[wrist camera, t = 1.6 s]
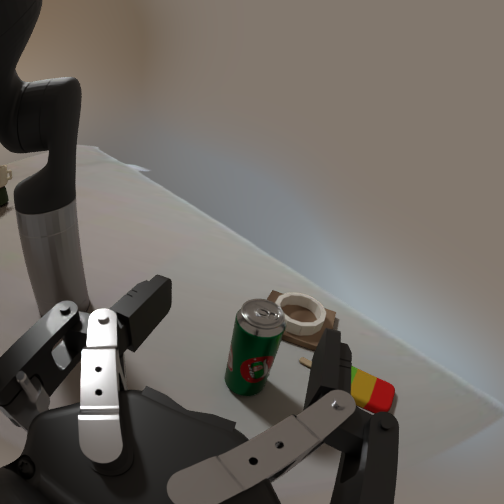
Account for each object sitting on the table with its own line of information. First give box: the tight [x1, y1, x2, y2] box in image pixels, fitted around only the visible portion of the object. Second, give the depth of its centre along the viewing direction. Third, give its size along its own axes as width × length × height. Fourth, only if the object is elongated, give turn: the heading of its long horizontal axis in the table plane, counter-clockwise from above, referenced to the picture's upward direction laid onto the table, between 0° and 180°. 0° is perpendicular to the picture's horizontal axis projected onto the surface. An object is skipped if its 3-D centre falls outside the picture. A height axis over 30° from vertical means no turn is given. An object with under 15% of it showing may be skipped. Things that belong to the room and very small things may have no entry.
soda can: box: [225, 299, 286, 396], centre depth 29 cm, size 5×5×12 cm
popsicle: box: [299, 357, 395, 413], centre depth 34 cm, size 6×15×2 cm, turn 57°
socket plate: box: [267, 290, 336, 351], centre depth 43 cm, size 12×10×3 cm
